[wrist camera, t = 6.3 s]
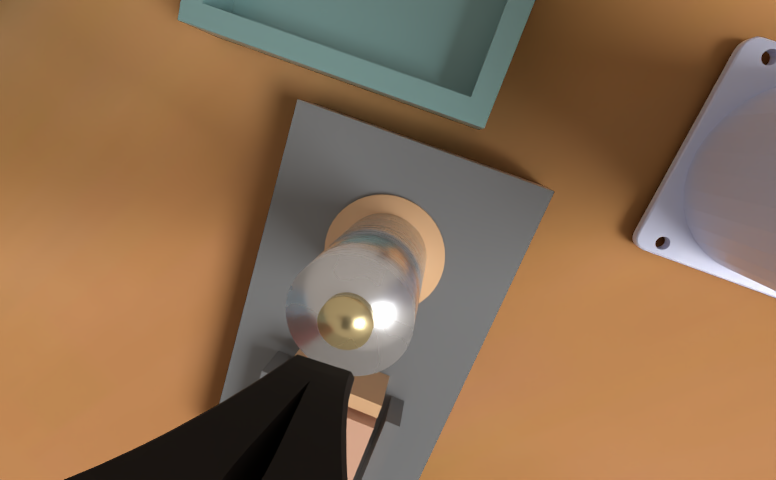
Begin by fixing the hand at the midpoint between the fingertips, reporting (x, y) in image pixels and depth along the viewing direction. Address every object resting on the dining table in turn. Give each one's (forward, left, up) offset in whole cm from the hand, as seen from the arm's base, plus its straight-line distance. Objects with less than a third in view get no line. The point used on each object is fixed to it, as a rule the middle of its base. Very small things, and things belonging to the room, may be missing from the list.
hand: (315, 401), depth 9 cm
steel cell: (0, -1, -8) cm, 8 cm away
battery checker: (0, +3, -10) cm, 10 cm away
